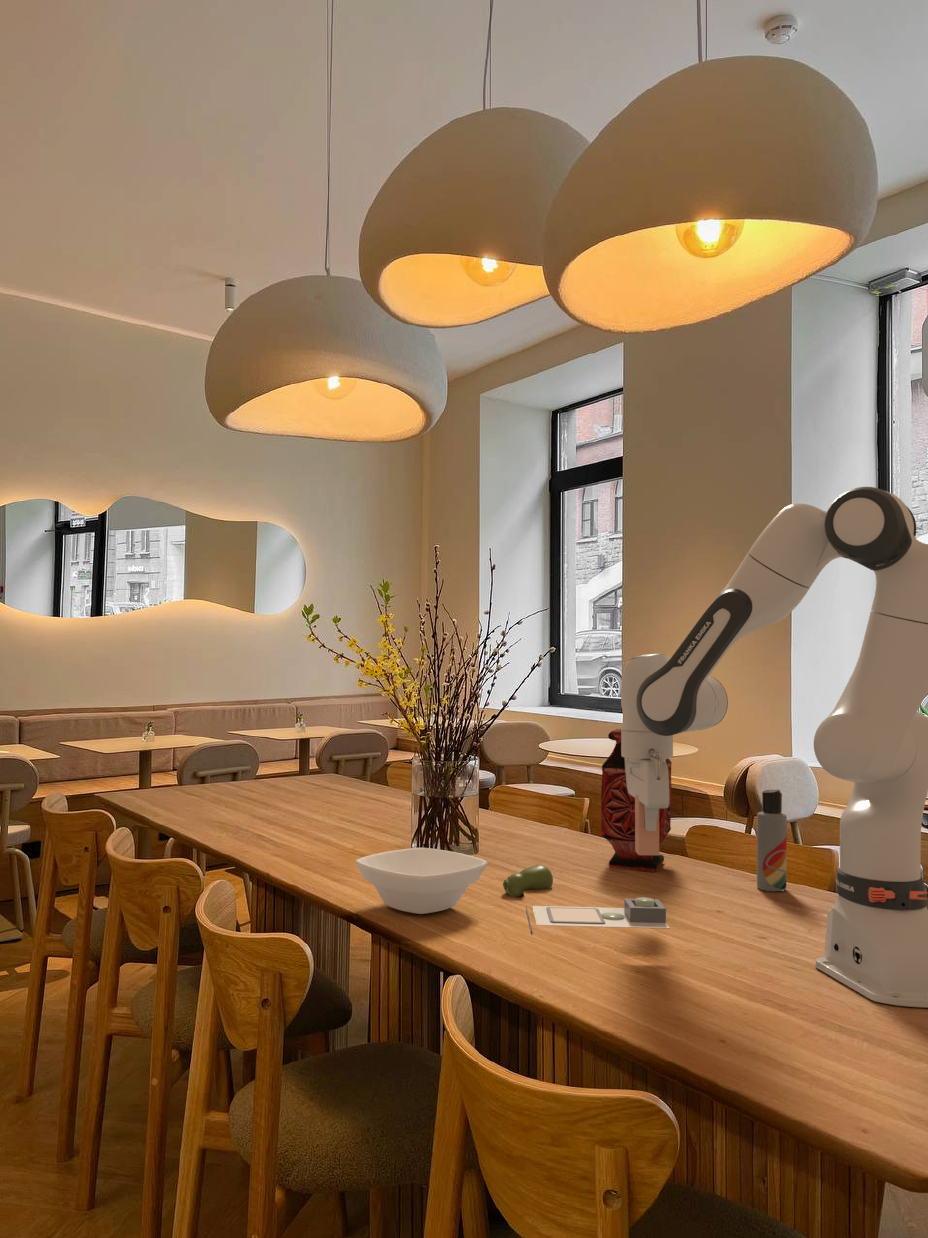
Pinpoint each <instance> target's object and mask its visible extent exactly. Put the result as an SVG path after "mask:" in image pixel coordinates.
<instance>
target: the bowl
mask: <svg viewBox="0 0 928 1238" xmlns="http://www.w3.org/2000/svg"><path fill="white" fill-rule="evenodd" d="M354 863H355V866H356V867H357V869H358V870H359V872H360V874H361V875H362V877H363V879H364V880H365V881H366V882H368V883H369V884H372V885H373V886H374V888H375V889H376V891H377V893H378V895H379V896H380V898H381V899H382V901H383V903H384V904H385V905H386V906H387V907H390V908H393V909H395V910H398V911H401V912H405V913H411V914H419V915H423V914H431V913H436V912H441V911H445V910H448V909H450V908H453V907H455V906H456V905H457V904H458V902H459V901H460V900H461V898H462V896H463V895H464V893H466V891H467V889H468V888H469V886H470V885H473V884H474V883H476V882H478V881H479V879H480V877H481V875H482V874H483V873H484V871H485V869H486V868H487V867H488V865H489V864H488V861H487V860H485V859H482V858H480V857H477V856H472V855H469V854H465V853H460V852H456V851H452V850H451V851H450V850H443V849H439V848H431V847H430V848H428V847H413V848H412V847H410V848H404V849H402V848H401V849H395V850H388V851H383V852H379V853H374V854H373V853H372V854H369V855H366V856H363V857H360V858H358V859H356V860H355V861H354Z"/></svg>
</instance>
